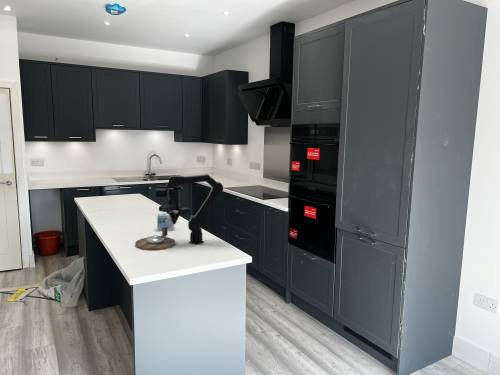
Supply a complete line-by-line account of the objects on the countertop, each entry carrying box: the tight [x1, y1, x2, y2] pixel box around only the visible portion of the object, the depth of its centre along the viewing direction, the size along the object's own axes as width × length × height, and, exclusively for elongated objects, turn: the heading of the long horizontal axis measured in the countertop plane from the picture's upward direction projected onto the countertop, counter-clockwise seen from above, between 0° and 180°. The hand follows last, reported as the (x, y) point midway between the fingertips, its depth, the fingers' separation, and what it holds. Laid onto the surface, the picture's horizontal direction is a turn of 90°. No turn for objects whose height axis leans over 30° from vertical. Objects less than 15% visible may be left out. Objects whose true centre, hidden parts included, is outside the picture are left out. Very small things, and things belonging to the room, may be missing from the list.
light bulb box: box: [156, 212, 175, 232], centre depth 248 cm, size 11×7×11 cm, turn 105°
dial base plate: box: [134, 236, 176, 251], centre depth 216 cm, size 22×22×2 cm
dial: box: [145, 227, 169, 244], centre depth 217 cm, size 14×10×6 cm
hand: (174, 224), depth 218 cm, fingers closed
